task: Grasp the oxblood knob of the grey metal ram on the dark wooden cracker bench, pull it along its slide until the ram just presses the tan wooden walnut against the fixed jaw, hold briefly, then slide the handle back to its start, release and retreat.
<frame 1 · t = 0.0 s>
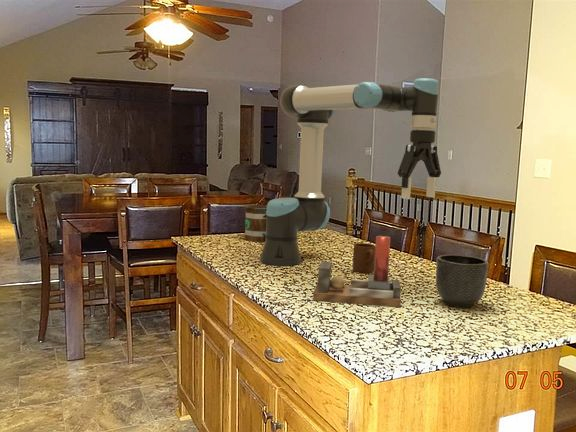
hand: (418, 198, 170), 28 cm above the worktop, fingers open, 13 cm apart
walnut: (336, 289, 156), point 2 cm above the worktop, touching cracker bench
mug 2: (261, 241, 243), on the worktop
ram: (379, 264, 153), point 10 cm above the worktop, slide at 0.0 cm
cracker bench: (356, 297, 155), on the worktop
mug: (365, 273, 187), on the worktop
planter: (458, 304, 153), on the worktop
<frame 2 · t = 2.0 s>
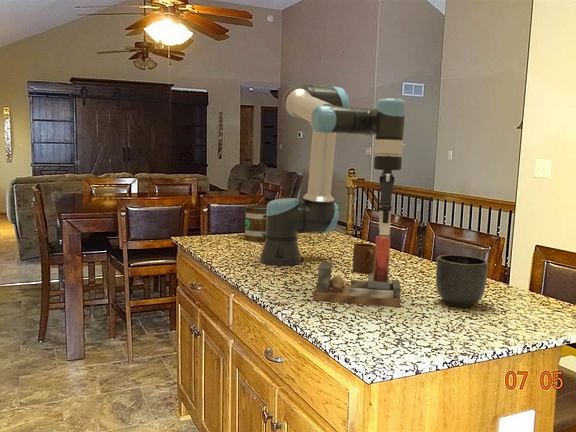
hand: (383, 231, 151), 20 cm above the worktop, fingers open, 13 cm apart
nothing on the worktop moved.
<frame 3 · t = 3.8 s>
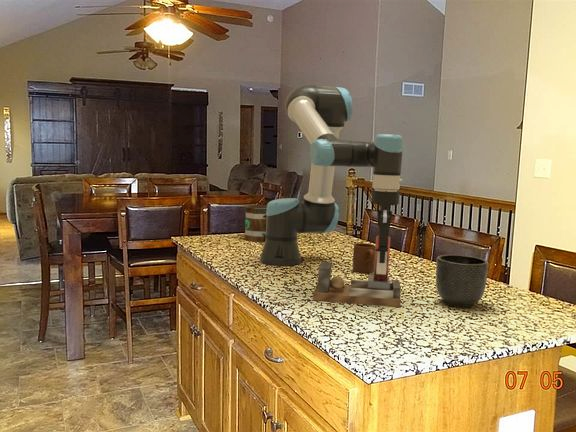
hand: (380, 271, 153), 8 cm above the worktop, fingers closed on ram, 4 cm apart
ram: (379, 264, 153), point 10 cm above the worktop, slide at 0.0 cm, touching gripper
everything else where it was.
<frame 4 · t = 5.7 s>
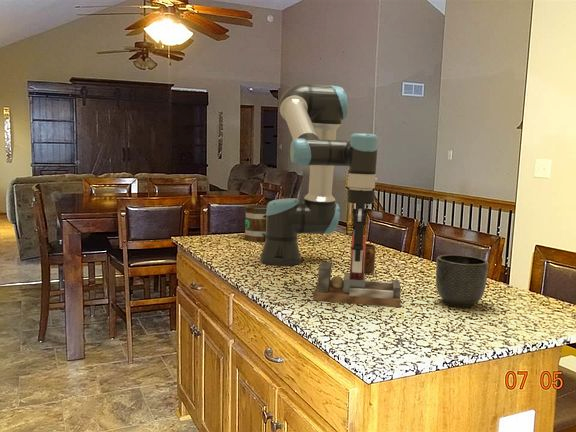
hand: (356, 270, 154), 8 cm above the worktop, fingers closed on ram, 4 cm apart
ram: (355, 263, 154), point 10 cm above the worktop, slide at 6.8 cm, touching gripper
everything else where it was.
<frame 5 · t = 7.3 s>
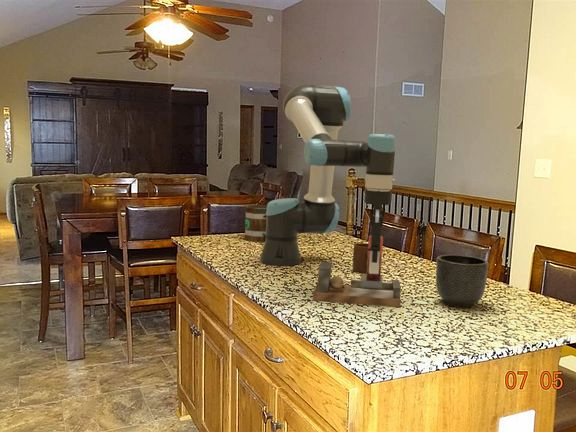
hand: (373, 271, 153), 8 cm above the worktop, fingers closed on ram, 4 cm apart
ram: (372, 264, 153), point 10 cm above the worktop, slide at 2.0 cm, touching gripper
everything else where it was.
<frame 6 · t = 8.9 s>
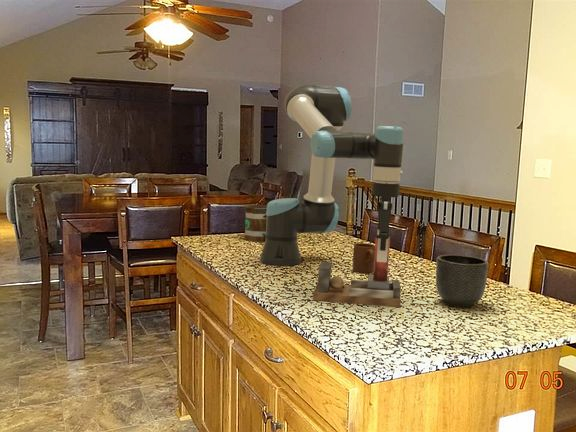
hand: (381, 256, 153), 12 cm above the worktop, fingers open, 13 cm apart
ram: (379, 264, 153), point 10 cm above the worktop, slide at 0.1 cm
everything else where it was.
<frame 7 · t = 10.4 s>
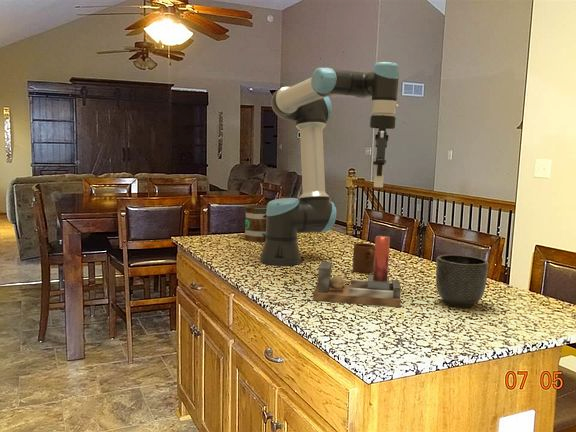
hand: (378, 185, 166), 32 cm above the worktop, fingers open, 13 cm apart
nothing on the worktop moved.
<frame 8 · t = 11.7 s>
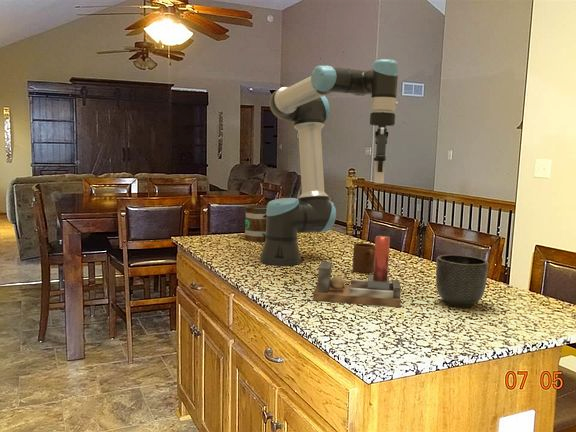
hand: (378, 182, 167), 33 cm above the worktop, fingers open, 13 cm apart
nothing on the worktop moved.
at the end: ram slide at 0.1 cm; walnut 0.1 cm from the target spot on the cracker bench, point 2.0 cm above the cracker bench's base; walnut touching cracker bench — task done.
